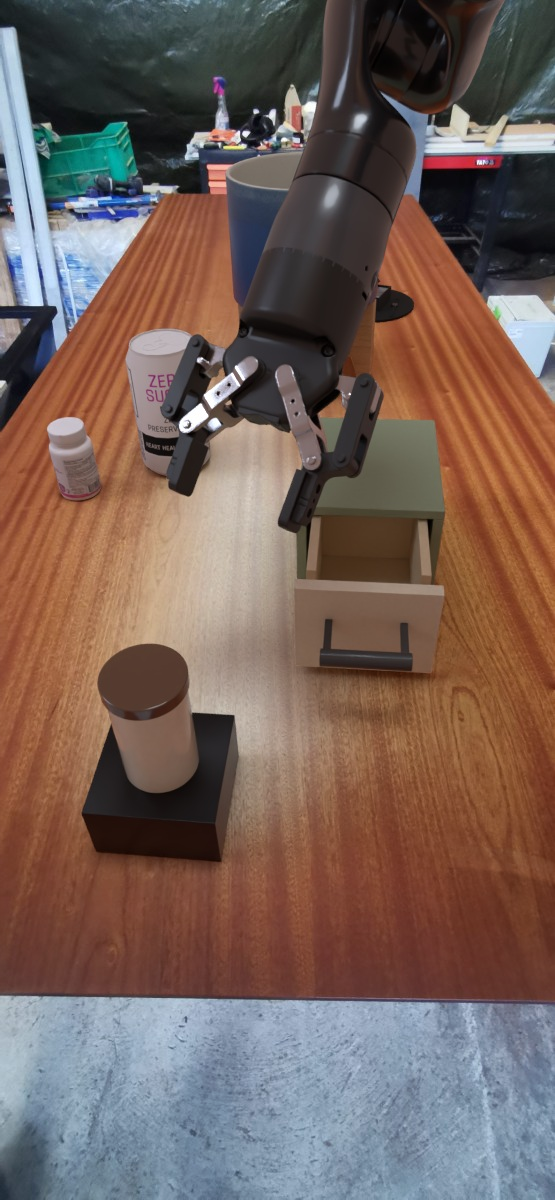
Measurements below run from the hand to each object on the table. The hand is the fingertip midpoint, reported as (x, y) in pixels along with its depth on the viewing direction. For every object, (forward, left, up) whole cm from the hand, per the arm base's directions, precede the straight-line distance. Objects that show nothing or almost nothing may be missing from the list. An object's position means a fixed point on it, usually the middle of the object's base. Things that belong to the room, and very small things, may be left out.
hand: (231, 511), depth 48 cm
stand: (+5, +10, -20) cm, 22 cm away
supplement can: (+14, -37, -20) cm, 45 cm away
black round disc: (-9, -88, -20) cm, 91 cm away
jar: (+5, +10, -15) cm, 18 cm away
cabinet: (-9, -21, -20) cm, 31 cm away
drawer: (-9, -9, -19) cm, 23 cm away
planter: (0, -61, -20) cm, 65 cm away
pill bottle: (+24, -30, -20) cm, 43 cm away
